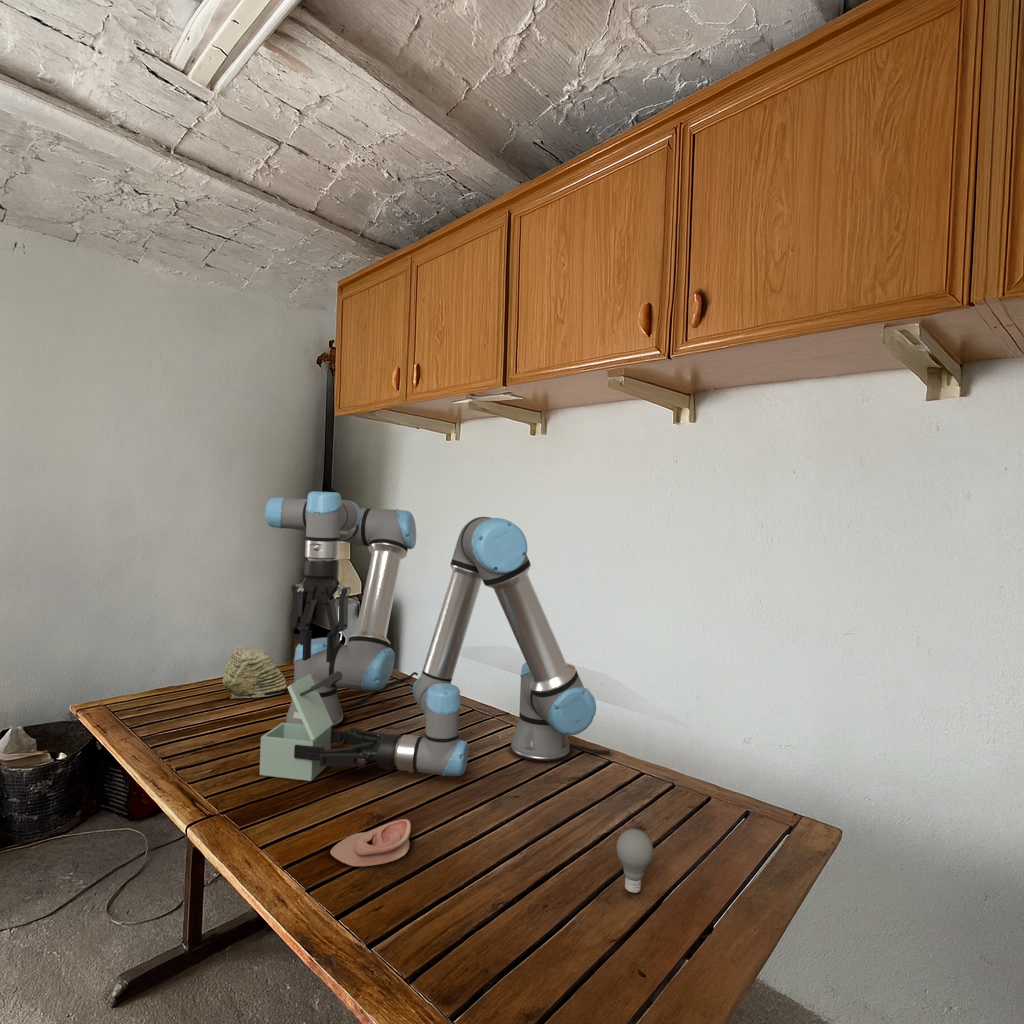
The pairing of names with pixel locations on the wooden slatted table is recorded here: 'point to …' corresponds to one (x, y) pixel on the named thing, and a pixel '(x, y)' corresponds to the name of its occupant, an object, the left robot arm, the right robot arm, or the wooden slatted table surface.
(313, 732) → the lid
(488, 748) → the wooden slatted table surface
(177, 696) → the wooden slatted table surface
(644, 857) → the light bulb
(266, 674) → the fossil
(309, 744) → the chest
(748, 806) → the wooden slatted table surface
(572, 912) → the wooden slatted table surface
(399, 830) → the anatomical model
